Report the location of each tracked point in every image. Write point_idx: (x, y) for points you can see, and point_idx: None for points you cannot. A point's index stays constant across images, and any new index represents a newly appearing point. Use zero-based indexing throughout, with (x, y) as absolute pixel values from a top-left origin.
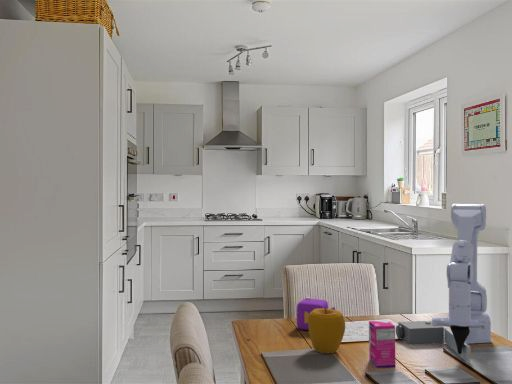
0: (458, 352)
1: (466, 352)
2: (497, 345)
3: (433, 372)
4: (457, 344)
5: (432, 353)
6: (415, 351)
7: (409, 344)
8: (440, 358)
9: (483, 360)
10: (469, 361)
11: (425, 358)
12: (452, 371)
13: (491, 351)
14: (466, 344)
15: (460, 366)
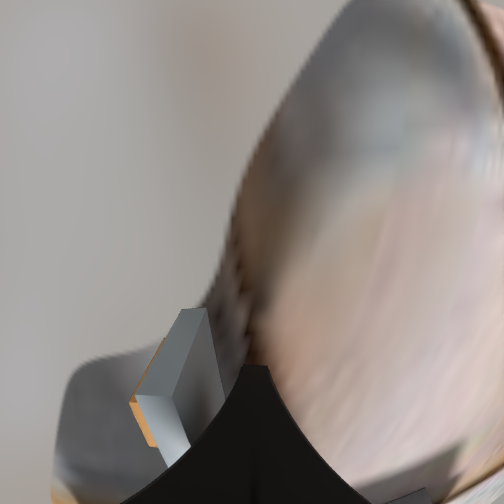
0: (269, 377)
1: (191, 354)
2: (64, 495)
3: (483, 84)
4: (296, 425)
5: (384, 438)
6: (451, 432)
7: (425, 488)
8: (376, 375)
9: (90, 372)
10: (182, 309)
11: (463, 347)
12: (374, 95)
13: (70, 464)
14: (167, 448)
15: (280, 224)
